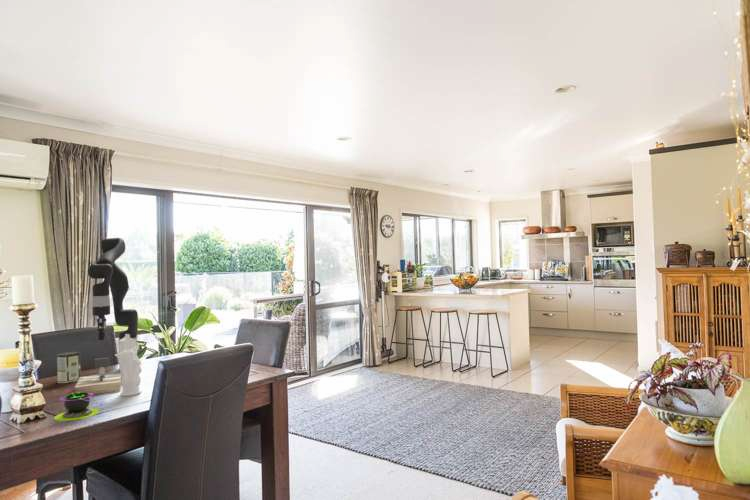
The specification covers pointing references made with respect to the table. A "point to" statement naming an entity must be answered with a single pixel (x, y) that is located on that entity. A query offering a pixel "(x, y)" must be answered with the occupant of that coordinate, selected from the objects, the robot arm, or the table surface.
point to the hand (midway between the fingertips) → (101, 338)
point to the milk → (126, 347)
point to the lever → (101, 366)
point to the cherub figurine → (130, 372)
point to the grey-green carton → (68, 367)
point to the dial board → (99, 384)
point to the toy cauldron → (76, 407)
